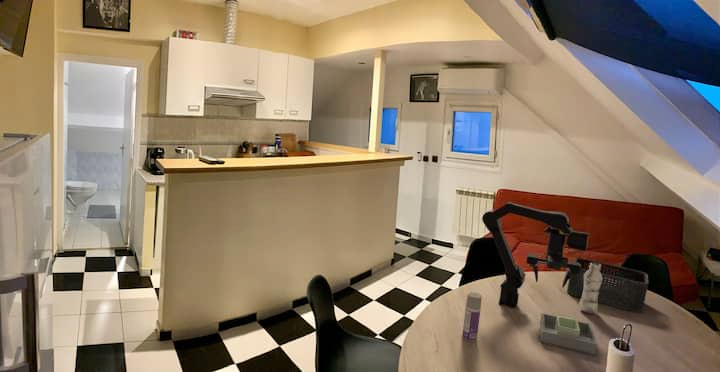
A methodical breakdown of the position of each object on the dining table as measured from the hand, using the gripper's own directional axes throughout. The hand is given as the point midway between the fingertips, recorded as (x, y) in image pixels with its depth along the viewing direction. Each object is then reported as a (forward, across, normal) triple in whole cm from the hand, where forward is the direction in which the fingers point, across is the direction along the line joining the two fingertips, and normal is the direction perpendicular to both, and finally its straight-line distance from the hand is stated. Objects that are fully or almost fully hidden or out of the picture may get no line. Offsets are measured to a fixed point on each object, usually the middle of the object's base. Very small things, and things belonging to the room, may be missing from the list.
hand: (549, 284), depth 158 cm
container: (+12, -24, -36) cm, 45 cm away
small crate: (+11, +6, -18) cm, 22 cm away
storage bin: (+12, +25, +35) cm, 45 cm away
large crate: (+12, +6, -18) cm, 22 cm away
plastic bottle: (+12, +16, +12) cm, 24 cm away
